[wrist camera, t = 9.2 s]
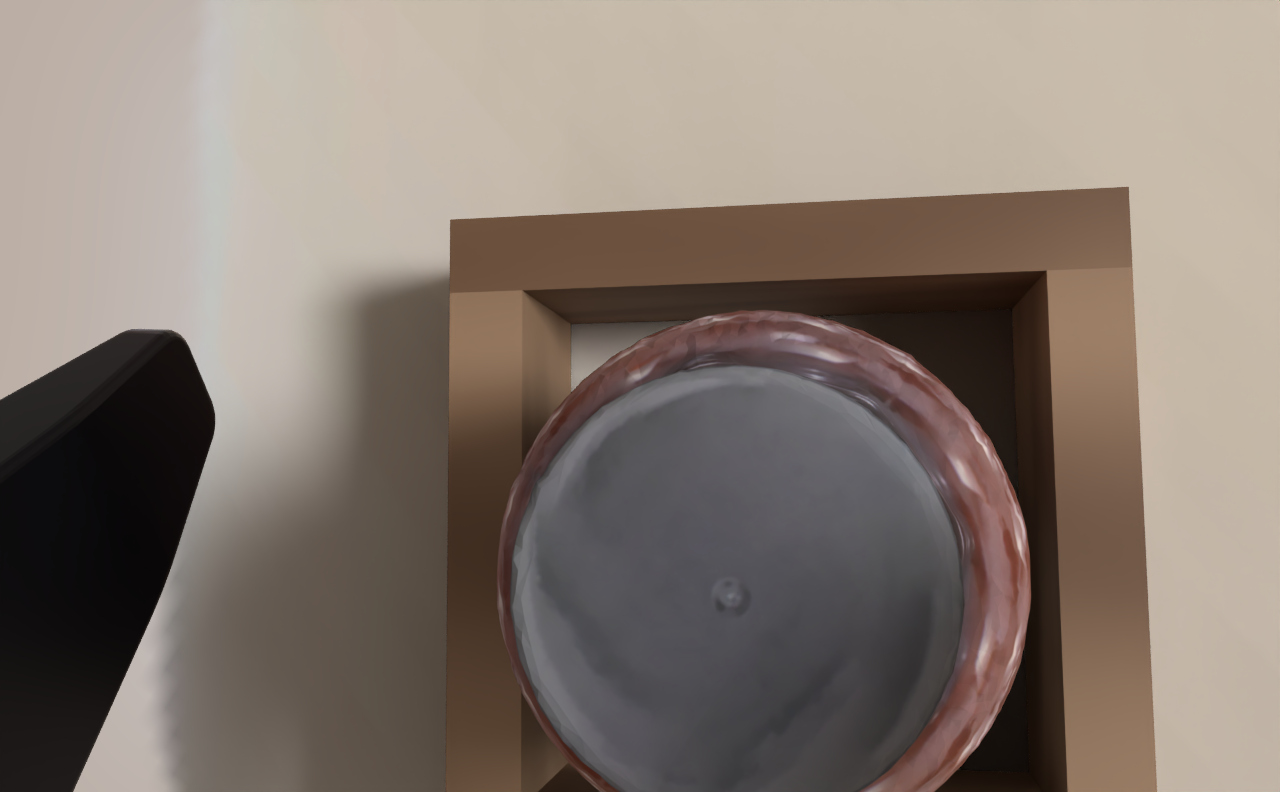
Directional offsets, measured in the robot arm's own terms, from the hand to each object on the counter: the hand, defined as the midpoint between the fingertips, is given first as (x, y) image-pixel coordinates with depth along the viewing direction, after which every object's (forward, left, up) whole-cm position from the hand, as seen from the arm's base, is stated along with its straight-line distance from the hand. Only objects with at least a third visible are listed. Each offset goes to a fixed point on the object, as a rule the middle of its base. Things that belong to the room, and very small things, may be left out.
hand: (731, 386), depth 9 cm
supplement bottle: (-2, 0, -13) cm, 13 cm away
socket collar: (-1, 0, -12) cm, 13 cm away
